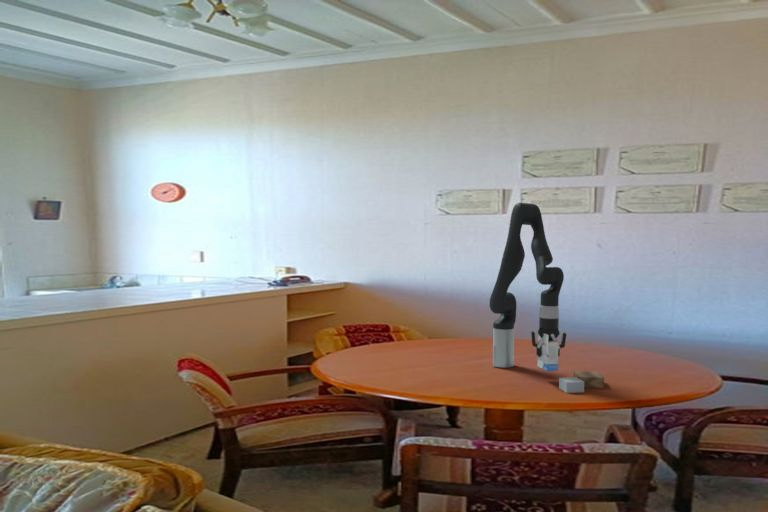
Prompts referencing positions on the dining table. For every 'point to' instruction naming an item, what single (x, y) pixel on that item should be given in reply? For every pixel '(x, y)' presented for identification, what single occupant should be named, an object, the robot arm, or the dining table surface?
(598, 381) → the tan block
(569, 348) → the dining table surface
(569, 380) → the grey block
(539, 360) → the ink box
